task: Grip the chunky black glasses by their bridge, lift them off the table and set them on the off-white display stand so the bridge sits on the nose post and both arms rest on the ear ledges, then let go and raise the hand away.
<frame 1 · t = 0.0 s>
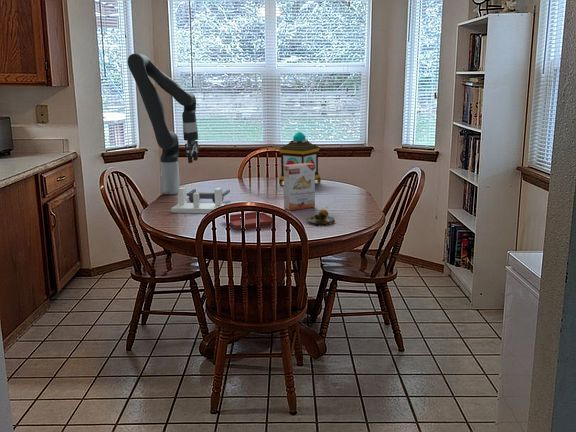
hand: (193, 161, 314), 17 cm above the table, tool pointing down, fingers open, 8 cm apart
display stand: (198, 210, 278), on the table
decorative lantern: (300, 184, 338), on the table
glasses: (206, 203, 293), on the table
plant saucer: (249, 225, 251), on the table
small succulent plant: (320, 223, 252), on the table
cracker box: (299, 208, 279), on the table
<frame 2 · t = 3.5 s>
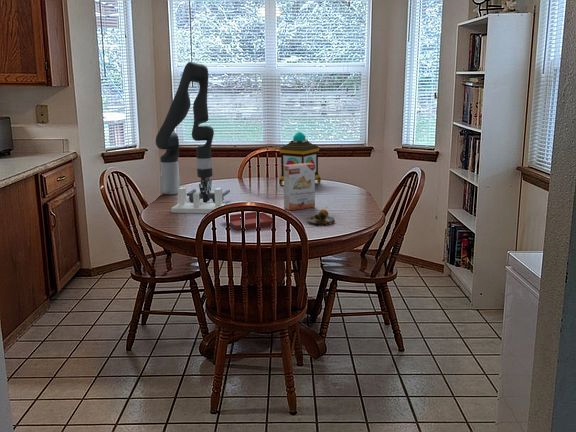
hand: (206, 201, 293), 1 cm above the table, tool pointing down, fingers closed on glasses, 3 cm apart
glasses: (206, 203, 293), on the table, touching gripper
everything else where it was.
when the fingers open (8 cm above the table, at t = 8.6 s): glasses drops 1 cm, resting on display stand.
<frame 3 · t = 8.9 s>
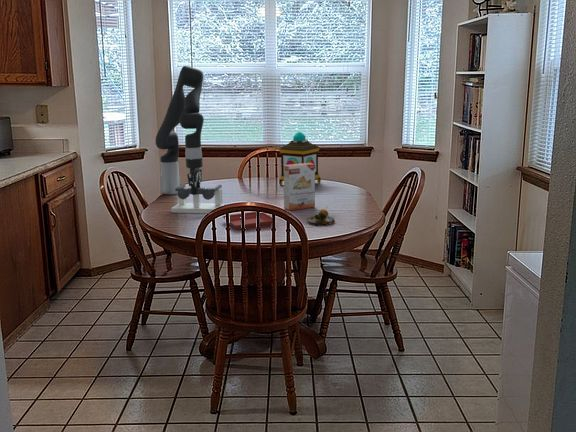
hand: (195, 193, 274), 9 cm above the table, tool pointing down, fingers open, 5 cm apart
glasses: (196, 198, 275), point 6 cm above the table, touching display stand
everything else where it was.
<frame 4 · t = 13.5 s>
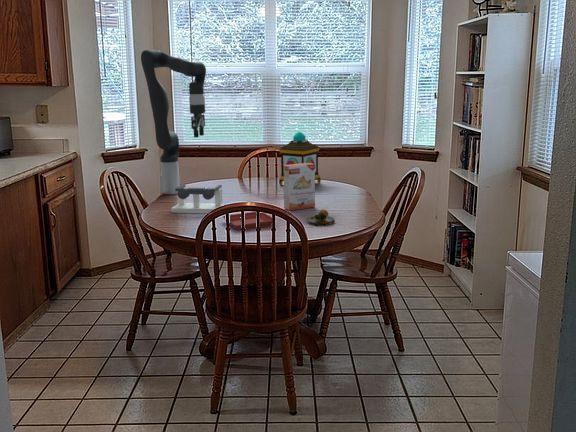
hand: (199, 136, 295), 32 cm above the table, tool pointing down, fingers open, 8 cm apart
nothing on the table moved.
at the end: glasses 0.1 cm from the target spot on the display stand, point 6.0 cm above the display stand's base; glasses tilted 0°; the gripper is holding nothing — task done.
